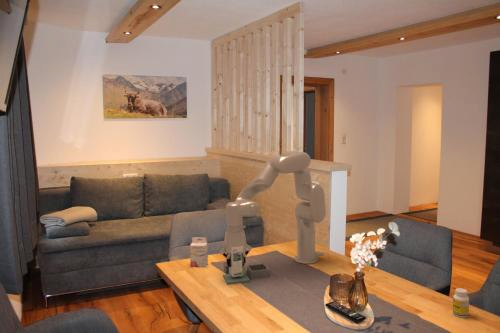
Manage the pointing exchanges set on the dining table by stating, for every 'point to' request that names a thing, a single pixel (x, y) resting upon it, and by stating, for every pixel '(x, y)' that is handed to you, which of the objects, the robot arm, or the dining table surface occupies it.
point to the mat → (236, 279)
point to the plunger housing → (226, 268)
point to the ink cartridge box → (199, 252)
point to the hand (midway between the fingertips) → (236, 265)
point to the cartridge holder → (258, 271)
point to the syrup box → (236, 261)
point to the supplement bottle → (461, 303)
